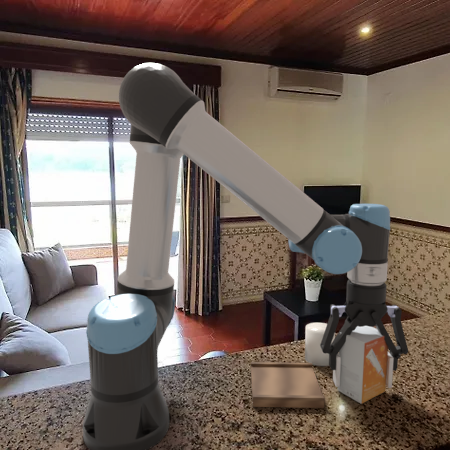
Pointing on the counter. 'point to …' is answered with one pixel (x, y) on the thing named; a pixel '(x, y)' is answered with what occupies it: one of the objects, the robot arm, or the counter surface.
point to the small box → (363, 364)
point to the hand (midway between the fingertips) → (361, 383)
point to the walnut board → (285, 385)
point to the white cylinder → (315, 344)
